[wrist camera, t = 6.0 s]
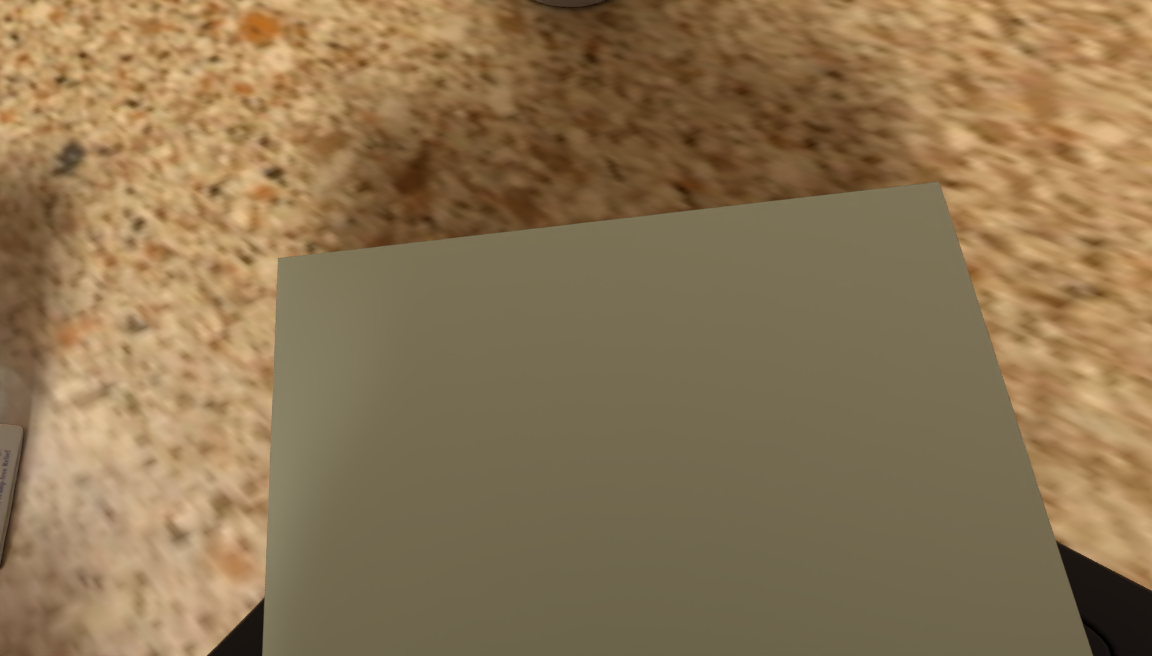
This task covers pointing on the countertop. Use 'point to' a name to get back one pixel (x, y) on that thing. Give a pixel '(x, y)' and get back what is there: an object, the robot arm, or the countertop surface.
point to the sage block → (656, 444)
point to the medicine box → (8, 472)
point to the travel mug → (570, 2)
